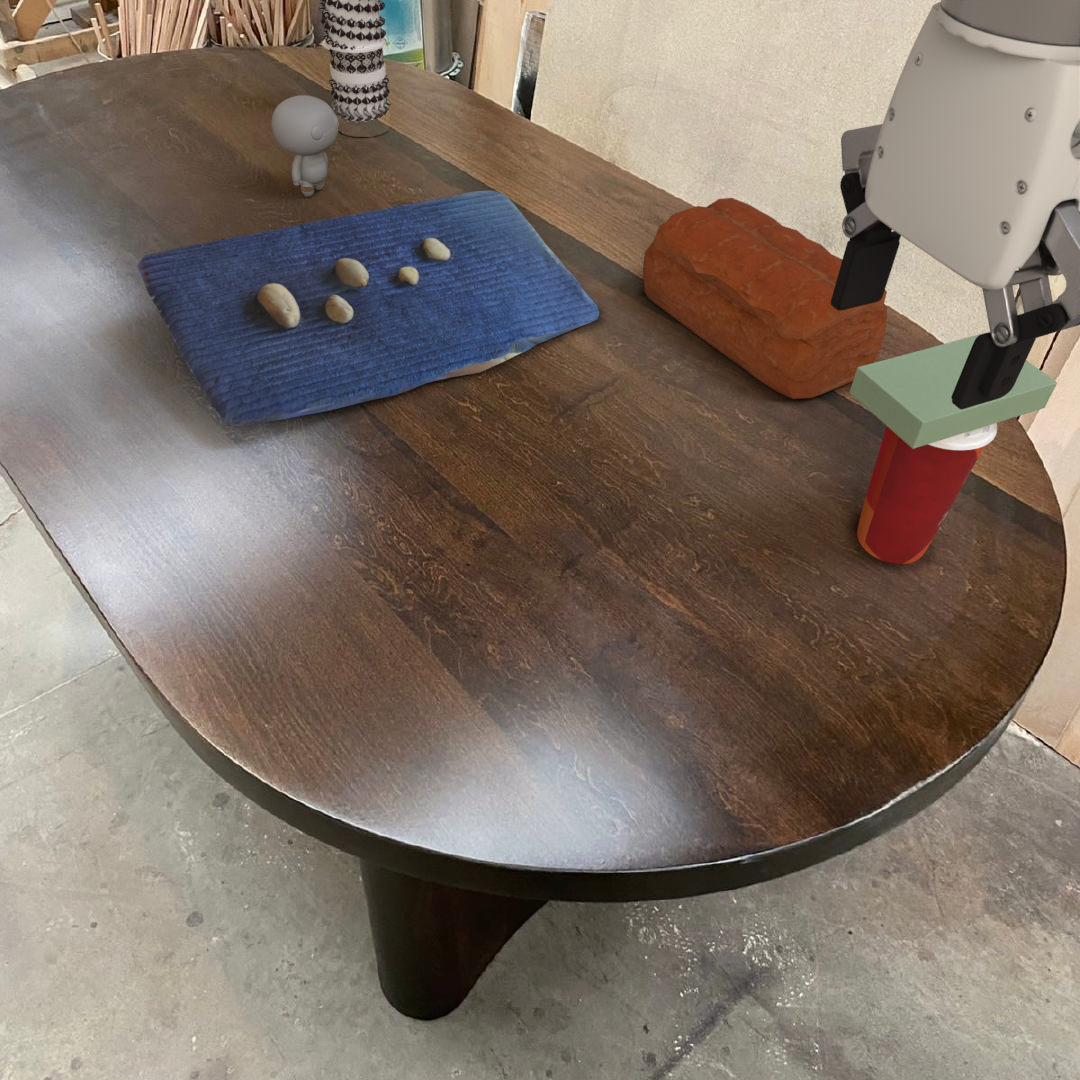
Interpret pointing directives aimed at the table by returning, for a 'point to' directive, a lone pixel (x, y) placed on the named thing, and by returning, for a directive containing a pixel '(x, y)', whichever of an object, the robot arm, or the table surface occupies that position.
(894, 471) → the coffee cup
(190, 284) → the mat
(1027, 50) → the robot arm
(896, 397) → the sage green foam block
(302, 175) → the figurine
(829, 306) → the bread
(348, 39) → the decorative candle
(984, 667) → the table surface
